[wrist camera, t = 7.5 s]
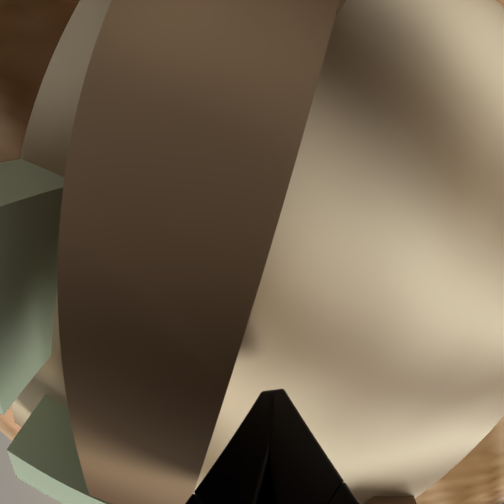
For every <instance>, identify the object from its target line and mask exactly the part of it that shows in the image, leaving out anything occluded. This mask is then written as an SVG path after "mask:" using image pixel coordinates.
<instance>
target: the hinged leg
mask: <svg viewBox="0 0 504 504" xmlns="http://www.w3.org/2000/svg"><path fill="white" fill-rule="evenodd" d="M345 1H346V0H112V1H111V3H110V6H109V8H108V11H107V13H106V16H105V18H104V21H103V24H102V26H101V29H100V32H99V35H98V38H97V40H96V43H95V46H94V49H93V52H92V56H91V59H90V62H89V65H88V69H87V72H86V76H85V79H84V83H83V86H82V90H81V94H80V98H79V102H78V106H77V111H76V115H75V120H74V124H73V129H72V134H71V139H70V145H69V151H68V157H67V163H66V170H65V177H64V184H63V193H62V202H61V212H60V225H59V241H58V272H57V289H58V321H59V337H60V349H61V359H62V368H63V376H64V384H65V391H66V397H67V403H68V409H69V415H70V420H71V425H72V430H73V435H74V439H75V444H76V448H77V452H78V456H79V460H80V464H81V468H82V471H83V475H84V478H85V482H86V485H87V488H88V492H89V495H91V496H94V497H96V498H99V499H102V500H104V501H107V502H110V503H112V504H185V503H186V502H187V500H188V499H189V498H190V496H191V495H192V494H193V493H194V490H195V487H196V484H197V481H198V478H199V475H200V472H201V469H202V466H203V463H204V460H205V457H206V454H207V450H208V447H209V444H210V441H211V438H212V435H213V432H214V429H215V426H216V423H217V420H218V416H219V413H220V410H221V407H222V404H223V401H224V398H225V394H226V391H227V388H228V385H229V382H230V379H231V375H232V372H233V369H234V366H235V363H236V359H237V356H238V353H239V350H240V347H241V343H242V340H243V337H244V334H245V330H246V327H247V324H248V321H249V317H250V314H251V311H252V308H253V304H254V301H255V298H256V294H257V291H258V288H259V284H260V281H261V278H262V274H263V271H264V268H265V264H266V261H267V258H268V254H269V251H270V248H271V244H272V241H273V237H274V234H275V231H276V227H277V224H278V220H279V217H280V214H281V210H282V207H283V203H284V200H285V196H286V193H287V190H288V186H289V183H290V179H291V176H292V172H293V169H294V165H295V162H296V158H297V155H298V151H299V148H300V144H301V140H302V137H303V133H304V130H305V126H306V123H307V119H308V115H309V112H310V108H311V105H312V101H313V97H314V94H315V90H316V86H317V83H318V79H319V75H320V72H321V68H322V64H323V61H324V57H325V53H326V50H327V46H328V42H329V38H330V35H331V31H332V27H333V23H334V19H335V16H336V14H337V13H338V11H339V10H340V9H341V7H342V6H343V4H344V3H345Z"/></svg>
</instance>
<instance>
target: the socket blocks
mask: <svg viewBox="0 0 504 504" xmlns="http://www.w3.org/2000/svg"><path fill="white" fill-rule="evenodd" d="M63 184H64V177H63V176H60V175H58V174H56V173H53V172H51V171H49V170H46V169H44V168H42V167H39V166H37V165H35V164H32V163H30V162H28V161H25V160H23V159H16V160H9V161H3V162H0V414H2V415H4V414H5V412H6V411H7V410H8V408H9V407H10V406H11V405H12V403H13V402H14V401H15V399H16V398H17V397H18V396H19V394H20V393H21V392H22V391H23V389H24V388H25V387H26V386H27V384H28V383H29V382H30V381H31V379H32V378H33V377H34V376H35V374H36V373H37V372H38V371H39V370H40V368H41V367H42V366H43V365H44V364H45V362H46V361H47V360H48V359H49V358H50V357H51V352H52V335H53V323H54V312H55V303H56V294H57V272H58V241H59V225H60V212H61V202H62V193H63ZM7 452H8V454H9V457H10V460H11V463H12V466H13V469H14V471H15V473H16V476H17V477H18V478H19V479H21V480H22V481H24V482H25V483H27V484H29V485H30V486H32V487H34V488H35V489H37V490H39V491H40V492H42V493H44V494H46V495H48V496H49V497H51V498H53V499H55V500H57V501H59V502H61V503H63V504H112V503H110V502H107V501H104V500H102V499H99V498H96V497H94V496H91V495H89V492H88V488H87V485H86V482H85V478H84V475H83V471H82V468H81V464H80V460H79V456H78V452H77V448H76V444H75V439H74V435H73V430H72V425H71V420H70V415H69V409H68V408H66V407H65V406H63V405H61V404H59V403H57V402H56V401H54V400H52V399H50V398H49V397H47V396H45V395H44V397H43V398H42V399H41V401H40V402H39V404H38V405H37V406H36V408H35V409H34V411H33V412H32V413H31V415H30V416H29V418H28V419H27V421H26V422H25V424H24V425H23V426H22V428H21V429H20V431H19V432H18V434H17V435H16V437H15V438H14V440H13V441H12V443H11V444H10V446H9V447H8V449H7Z"/></svg>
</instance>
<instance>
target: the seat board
mask: <svg viewBox="0 0 504 504" xmlns="http://www.w3.org/2000/svg"><path fill="white" fill-rule="evenodd" d="M111 1H112V0H80V1H79V3H78V5H77V6H76V8H75V10H74V12H73V14H72V16H71V18H70V20H69V22H68V24H67V26H66V28H65V30H64V32H63V34H62V36H61V38H60V40H59V42H58V44H57V47H56V49H55V51H54V53H53V56H52V58H51V61H50V63H49V65H48V68H47V70H46V73H45V75H44V78H43V81H42V83H41V86H40V89H39V92H38V94H37V97H36V100H35V103H34V106H33V109H32V113H31V116H30V119H29V122H28V126H27V129H26V133H25V137H24V140H23V144H22V148H21V152H20V156H19V159H23V160H25V161H28V162H30V163H32V164H35V165H37V166H39V167H42V168H44V169H46V170H49V171H51V172H53V173H56V174H58V175H60V176H63V177H65V170H66V163H67V157H68V151H69V145H70V139H71V134H72V129H73V124H74V120H75V115H76V111H77V106H78V102H79V98H80V94H81V90H82V86H83V83H84V79H85V76H86V72H87V69H88V65H89V62H90V59H91V56H92V52H93V49H94V46H95V43H96V40H97V38H98V35H99V32H100V29H101V26H102V24H103V21H104V18H105V16H106V13H107V11H108V8H109V6H110V3H111ZM275 389H284V390H285V391H286V393H287V394H288V396H289V398H290V399H291V401H292V402H293V404H294V406H295V407H296V409H297V410H298V412H299V413H300V415H301V417H302V418H303V420H304V421H305V423H306V424H307V426H308V427H309V429H310V431H311V432H312V434H313V435H314V437H315V438H316V440H317V441H318V443H319V444H320V446H321V447H322V449H323V450H324V452H325V453H326V455H327V456H328V458H329V459H330V461H331V462H332V464H333V465H334V467H335V468H336V470H337V471H338V473H339V474H340V476H341V477H342V479H343V480H344V483H346V484H347V486H348V487H349V489H350V490H351V492H352V493H353V494H354V496H355V497H356V498H357V500H358V501H359V502H360V504H416V501H415V498H417V497H418V496H419V495H420V494H422V493H423V492H424V491H426V490H427V489H428V488H429V487H431V486H432V485H433V484H434V483H436V482H437V481H438V480H439V479H440V478H442V477H443V476H444V475H445V474H446V473H447V472H449V471H450V470H451V469H452V468H453V467H454V466H455V465H456V464H457V463H459V462H460V461H461V460H462V459H463V458H464V457H465V456H466V455H467V454H468V453H469V452H470V451H471V450H472V449H473V448H474V447H475V446H476V445H477V444H478V443H479V442H480V441H481V440H482V439H483V438H484V437H485V436H486V435H487V434H488V433H489V432H490V431H491V430H492V428H493V427H494V426H495V425H496V424H497V423H498V422H499V421H500V419H501V418H502V417H503V416H504V7H503V6H501V5H500V4H499V3H498V2H497V1H496V0H346V1H345V3H344V4H343V6H342V7H341V9H340V10H339V11H338V13H337V14H336V16H335V19H334V23H333V27H332V31H331V35H330V38H329V42H328V46H327V50H326V53H325V57H324V61H323V64H322V68H321V72H320V75H319V79H318V83H317V86H316V90H315V94H314V97H313V101H312V105H311V108H310V112H309V115H308V119H307V123H306V126H305V130H304V133H303V137H302V140H301V144H300V148H299V151H298V155H297V158H296V162H295V165H294V169H293V172H292V176H291V179H290V183H289V186H288V190H287V193H286V196H285V200H284V203H283V207H282V210H281V214H280V217H279V220H278V224H277V227H276V231H275V234H274V237H273V241H272V244H271V248H270V251H269V254H268V258H267V261H266V264H265V268H264V271H263V274H262V278H261V281H260V284H259V288H258V291H257V294H256V298H255V301H254V304H253V308H252V311H251V314H250V317H249V321H248V324H247V327H246V330H245V334H244V337H243V340H242V343H241V347H240V350H239V353H238V356H237V359H236V363H235V366H234V369H233V372H232V375H231V379H230V382H229V385H228V388H227V391H226V394H225V398H224V401H223V404H222V407H221V410H220V413H219V416H218V420H217V423H216V426H215V429H214V432H213V435H212V438H211V441H210V444H209V447H208V450H207V454H206V457H205V460H204V463H203V466H202V469H201V472H200V475H199V478H198V481H197V484H196V487H195V490H196V488H197V487H198V486H199V484H200V483H201V482H202V480H203V479H204V477H205V476H206V475H207V473H208V472H209V470H210V469H211V467H212V466H213V465H214V463H215V462H216V460H217V459H218V457H219V456H220V454H221V453H222V452H223V450H224V449H225V447H226V446H227V444H228V443H229V441H230V440H231V438H232V437H233V435H234V434H235V432H236V431H237V429H238V428H239V426H240V425H241V423H242V421H243V420H244V418H245V417H246V415H247V414H248V412H249V411H250V409H251V407H252V406H253V404H254V403H255V401H256V399H257V398H258V396H259V395H260V393H261V392H262V391H267V390H275ZM44 395H45V396H47V397H49V398H50V399H52V400H54V401H56V402H57V403H59V404H61V405H63V406H65V407H66V408H68V403H67V397H66V391H65V384H64V376H63V368H62V359H61V349H60V337H59V321H58V289H57V294H56V303H55V312H54V323H53V335H52V352H51V357H50V358H49V359H48V360H47V361H46V362H45V364H44V365H43V366H42V367H41V368H40V370H39V371H38V372H37V373H36V374H35V376H34V377H33V378H32V379H31V381H30V382H29V383H28V384H27V386H26V387H25V388H24V389H23V391H22V392H21V393H20V394H19V396H18V397H17V398H16V399H15V401H14V402H13V403H12V410H13V415H14V420H15V423H17V424H18V425H20V426H21V427H22V426H23V425H24V424H25V422H26V421H27V419H28V418H29V416H30V415H31V413H32V412H33V411H34V409H35V408H36V406H37V405H38V404H39V402H40V401H41V399H42V398H43V397H44ZM195 490H194V491H195ZM193 494H195V493H193Z"/></svg>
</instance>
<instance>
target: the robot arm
mask: <svg viewBox="0 0 504 504" xmlns="http://www.w3.org/2000/svg"><path fill="white" fill-rule="evenodd" d="M194 493H195V494H192V495H191V496H190V498H189V499H188V500H187V502H186V503H185V504H360V502H359V501H358V500H357V498H356V497H355V496H354V494H353V493H352V492H351V490H350V489H349V487H348V486H347V484H346V483H344V480H343V479H342V477H341V476H340V474H339V473H338V471H337V470H336V468H335V467H334V465H333V464H332V462H331V461H330V459H329V458H328V456H327V455H326V453H325V452H324V450H323V449H322V447H321V446H320V444H319V443H318V441H317V440H316V438H315V437H314V435H313V434H312V432H311V431H310V429H309V427H308V426H307V424H306V423H305V421H304V420H303V418H302V417H301V415H300V413H299V412H298V410H297V409H296V407H295V406H294V404H293V402H292V401H291V399H290V398H289V396H288V394H287V393H286V391H285V390H284V389H275V390H267V391H262V392H261V393H260V395H259V396H258V398H257V399H256V401H255V403H254V404H253V406H252V407H251V409H250V411H249V412H248V414H247V415H246V417H245V418H244V420H243V421H242V423H241V425H240V426H239V428H238V429H237V431H236V432H235V434H234V435H233V437H232V438H231V440H230V441H229V443H228V444H227V446H226V447H225V449H224V450H223V452H222V453H221V454H220V456H219V457H218V459H217V460H216V462H215V463H214V465H213V466H212V467H211V469H210V470H209V472H208V473H207V475H206V476H205V477H204V479H203V480H202V482H201V483H200V484H199V486H198V487H197V488H196V490H195V491H194Z"/></svg>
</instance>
